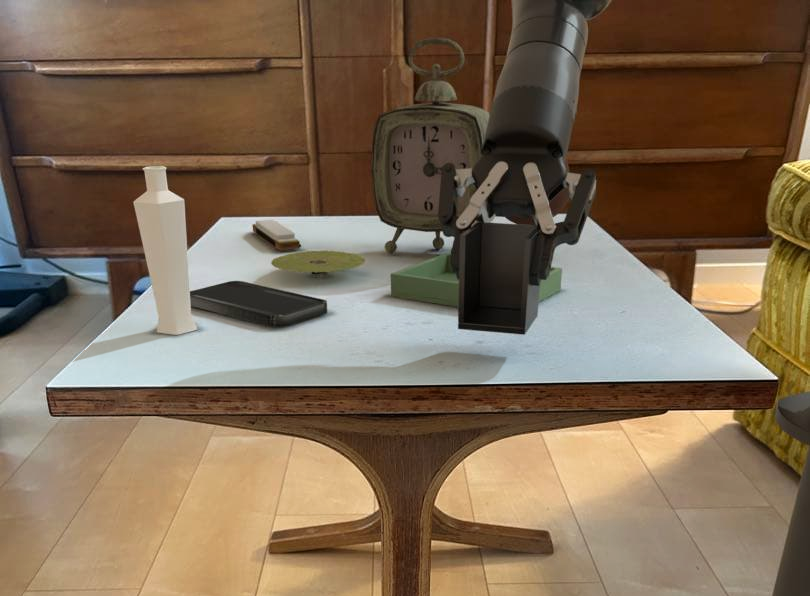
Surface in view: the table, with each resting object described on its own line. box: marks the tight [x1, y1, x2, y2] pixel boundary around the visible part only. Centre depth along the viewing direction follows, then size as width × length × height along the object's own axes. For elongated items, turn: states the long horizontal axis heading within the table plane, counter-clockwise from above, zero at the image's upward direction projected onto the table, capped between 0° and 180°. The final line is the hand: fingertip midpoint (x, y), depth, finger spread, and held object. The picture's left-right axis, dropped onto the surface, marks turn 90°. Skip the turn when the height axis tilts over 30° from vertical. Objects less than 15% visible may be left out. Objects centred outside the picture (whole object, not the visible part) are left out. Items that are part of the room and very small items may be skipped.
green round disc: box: [270, 250, 366, 278], centre depth 106 cm, size 11×11×2 cm
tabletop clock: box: [370, 37, 490, 254], centre depth 112 cm, size 14×9×25 cm, turn 73°
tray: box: [390, 252, 563, 308], centre depth 99 cm, size 15×12×2 cm
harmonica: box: [251, 219, 302, 251], centre depth 124 cm, size 15×3×2 cm, turn 23°
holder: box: [457, 222, 541, 336], centre depth 77 cm, size 6×6×8 cm
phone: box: [190, 280, 328, 328], centre depth 94 cm, size 8×1×15 cm
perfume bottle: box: [132, 165, 198, 336], centre depth 84 cm, size 5×4×15 cm
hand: (497, 277), depth 76 cm, fingers closed on holder, 6 cm apart
